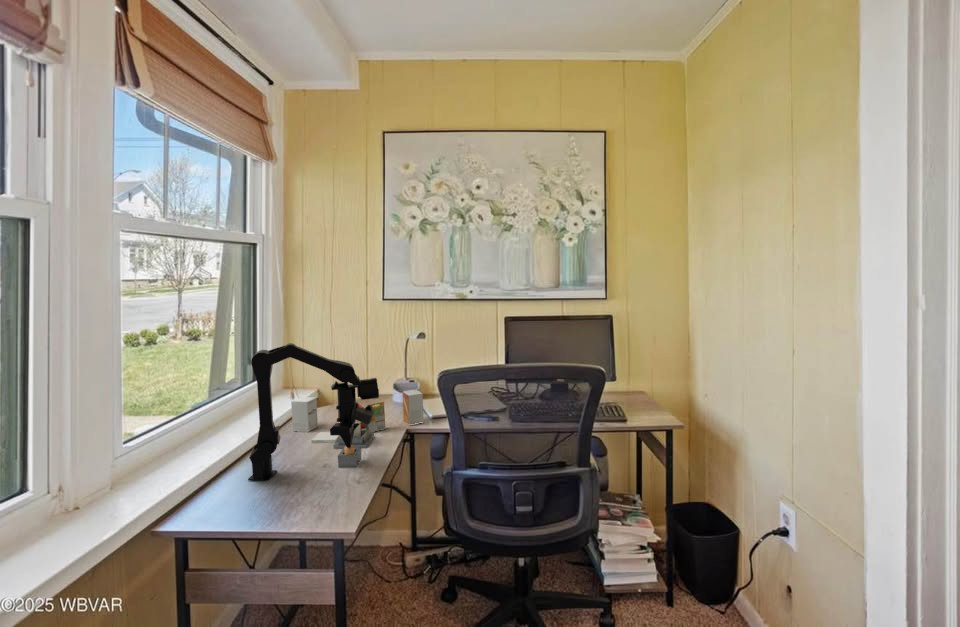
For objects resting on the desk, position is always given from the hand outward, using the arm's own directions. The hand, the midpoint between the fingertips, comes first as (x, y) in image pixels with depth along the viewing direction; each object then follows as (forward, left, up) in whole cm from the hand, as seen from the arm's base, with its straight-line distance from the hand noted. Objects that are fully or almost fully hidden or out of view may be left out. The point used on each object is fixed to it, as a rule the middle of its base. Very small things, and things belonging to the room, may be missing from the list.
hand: (349, 447), depth 157 cm
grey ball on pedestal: (+20, +4, -6) cm, 21 cm away
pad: (+25, +16, -6) cm, 30 cm away
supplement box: (+37, +29, -6) cm, 47 cm away
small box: (+43, -15, -6) cm, 46 cm away
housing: (+20, +4, -6) cm, 21 cm away
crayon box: (+33, -1, -6) cm, 34 cm away
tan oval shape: (0, 0, -5) cm, 5 cm away
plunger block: (0, 0, -6) cm, 6 cm away
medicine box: (+41, +11, -6) cm, 43 cm away
